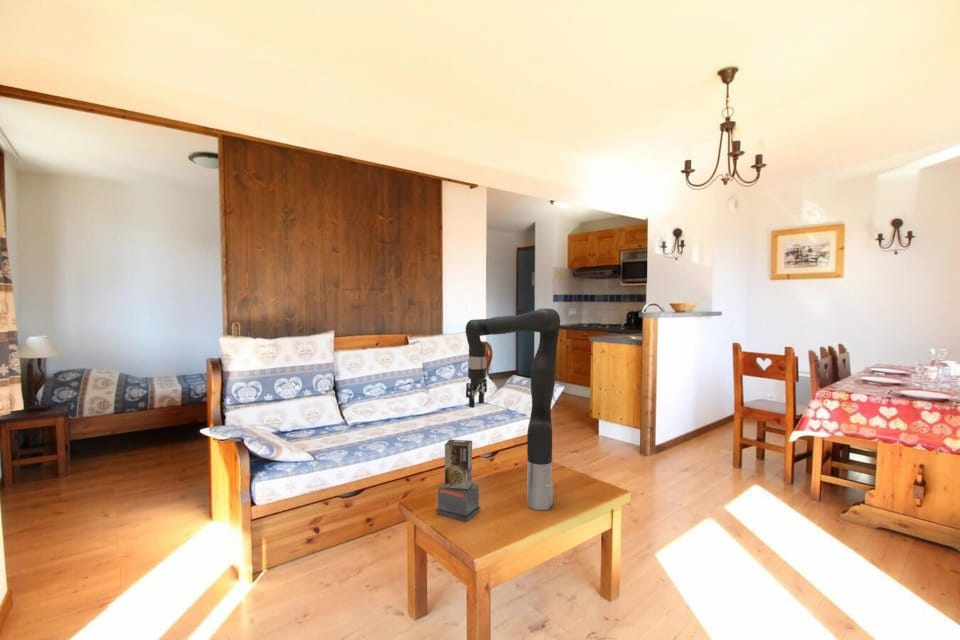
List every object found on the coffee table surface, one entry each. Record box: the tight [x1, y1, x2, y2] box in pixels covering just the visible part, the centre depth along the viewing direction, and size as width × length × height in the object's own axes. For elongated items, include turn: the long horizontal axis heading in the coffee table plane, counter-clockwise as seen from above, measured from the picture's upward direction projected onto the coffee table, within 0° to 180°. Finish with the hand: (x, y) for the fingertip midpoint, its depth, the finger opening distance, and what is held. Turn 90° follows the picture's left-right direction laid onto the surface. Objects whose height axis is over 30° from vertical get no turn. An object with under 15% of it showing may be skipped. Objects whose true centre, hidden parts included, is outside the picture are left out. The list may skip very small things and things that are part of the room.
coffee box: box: [444, 439, 473, 489], centre depth 165 cm, size 9×6×16 cm
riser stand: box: [435, 482, 481, 523], centre depth 166 cm, size 13×10×10 cm
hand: (476, 405), depth 189 cm, fingers open, 8 cm apart
